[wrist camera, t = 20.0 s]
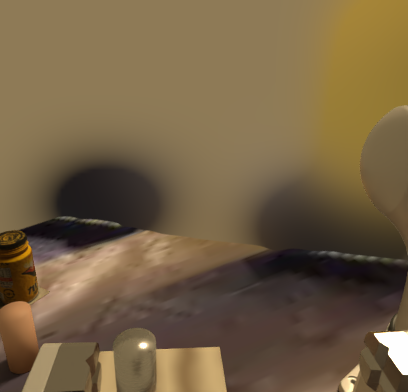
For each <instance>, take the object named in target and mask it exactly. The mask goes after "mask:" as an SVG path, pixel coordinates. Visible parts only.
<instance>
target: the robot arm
mask: <svg viewBox="0 0 408 392" xmlns="http://www.w3.org/2000/svg"><path fill="white" fill-rule="evenodd" d="M360 174H361V179H362V183H363V186H364V189H365V191H366V193H367V195H368V197H369V199H370V200H371V202H372V203H373V204H374V206H375V207H376V208H377V209H378V210H379V211H380V212H381V213H382V214H384V215H385V216H386V217H387V218H388V219H389V220H390V221H391V222H392V223H393V224H394V226H395V227H396V228H397V230H398V231H399V233H400V234H401V236H402V238H403V240H404V242H405V245H406V248H407V254H408V105H406V106H399V107H396V108H394V109H392V110H391V111H390V112H389V113H387V114H386V115H385V116H384V117H383V118H382V119H381V120H380V121H379V122H378V123H377V124H376V125H375V126H374V128H373V129H372V131H371V132H370V134H369V135H368V137H367V139H366V142H365V144H364V146H363V150H362V153H361V160H360ZM364 343H365V344H366V346H367V347H366V348H365V349H364V350H363V351H362V352H361V353H360V358H359V364H358V365H357V366H356V367H355V368H354V369H353V370H352V371H351V372H350V373H349V374H348V375H347V376H345V377H344V378H343V379H342V380H341V382H340V384H339V387H338V388H339V392H408V274H407V279H406V284H405V288H404V293H403V296H402V300H401V304H400V307H399V311H398V313H396V314H395V315H394V316H393V318H392V319H391V322H390V324H389V326H388V327H387V330H386V331H376V332H368V333H367V334H366V336H365V339H364ZM99 354H100V350H99V344H98V343H47V344H43V346H42V347H41V348H40V350H39V352H38V355H37V357H36V359H35V362H34V364H33V366H32V369H31V371H30V373H29V376H28V378H27V380H26V383H25V385H24V388H23V390H22V392H100V390H101V379H102V369H101V363H100V362H99V361H98V358H99ZM352 383H353V384H355V385H353V384H352Z"/></svg>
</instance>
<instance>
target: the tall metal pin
mask: <svg viewBox="0 0 408 392" xmlns="http://www.w3.org/2000/svg"><path fill="white" fill-rule="evenodd" d="M113 354H114V365H115V377H116V389H117V392H157V370H156V339H155V336H154V335H153V334H152V333H151V332H150V331H148V330H146V329H143V328H132V329H128V330H125V331H123V332H122V333H120V334H119V335H118V336H117V337H116V339H115V340H114V343H113Z"/></svg>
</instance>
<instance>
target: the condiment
mask: <svg viewBox="0 0 408 392" xmlns="http://www.w3.org/2000/svg"><path fill="white" fill-rule="evenodd" d="M49 292H50V291H47V290H45V289H43V288H41V287H39V286H38V283H37V277H36V272H35V267H34V261H33V254H32V249H31V247H30V246H29V245H28V241H27V236H26V234H25V233H24V232H22V231H16V230H14V231H6V232H3V233H0V309H1V308H2V307H4V306H5V305H7V304H10V303H13V302H18V301H23V302H27V303H28V304H29V305H31V304H33V303H34V302H35V301H37V300H38V299H40V298H42V297H43V296H45V295H46V294H48V293H49Z"/></svg>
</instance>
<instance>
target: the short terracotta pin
mask: <svg viewBox="0 0 408 392" xmlns="http://www.w3.org/2000/svg"><path fill="white" fill-rule="evenodd" d="M0 333H1V337H2V341H3V345H4V349H5V353H6V357H7V362H8V366H9V369H10V371H11V372H13V373H15V374H22V373H26V372H28V371H30V370H31V369H32V366H33V364H34V362H35V359H36V357H37V355H38V352H39V348H38V343H37V338H36V333H35V327H34V322H33V317H32V312H31V307H30V305H29V304H28V303H27V302H23V301H18V302H13V303H10V304H7V305H5V306H4V307H2V308H1V309H0Z"/></svg>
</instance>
